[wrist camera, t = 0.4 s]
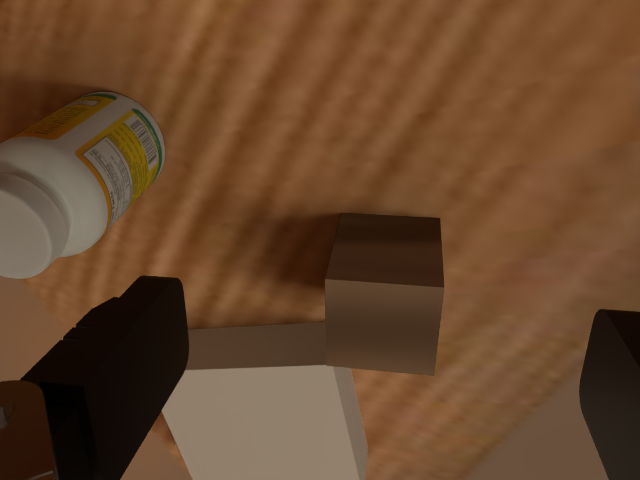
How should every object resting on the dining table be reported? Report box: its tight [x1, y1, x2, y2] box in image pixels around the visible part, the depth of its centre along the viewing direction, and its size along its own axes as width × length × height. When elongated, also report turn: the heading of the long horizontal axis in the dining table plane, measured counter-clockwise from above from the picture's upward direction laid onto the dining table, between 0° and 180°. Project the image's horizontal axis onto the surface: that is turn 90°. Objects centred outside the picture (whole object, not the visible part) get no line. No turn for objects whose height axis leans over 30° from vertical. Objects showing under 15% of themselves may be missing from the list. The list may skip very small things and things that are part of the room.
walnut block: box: [325, 213, 444, 376], centre depth 28 cm, size 5×5×6 cm
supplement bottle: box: [0, 92, 165, 279], centre depth 25 cm, size 5×5×10 cm
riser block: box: [162, 322, 368, 480], centre depth 36 cm, size 11×11×4 cm
